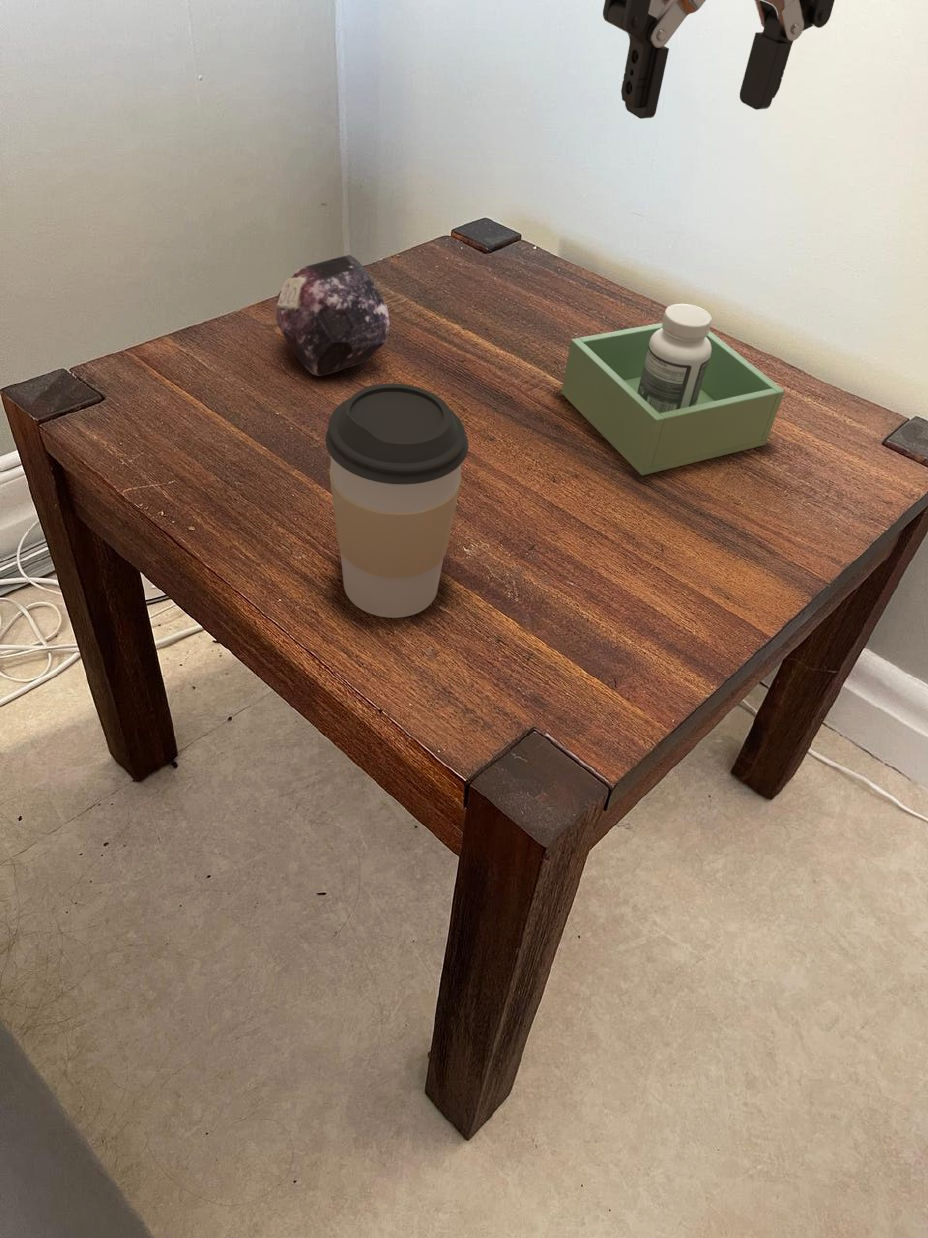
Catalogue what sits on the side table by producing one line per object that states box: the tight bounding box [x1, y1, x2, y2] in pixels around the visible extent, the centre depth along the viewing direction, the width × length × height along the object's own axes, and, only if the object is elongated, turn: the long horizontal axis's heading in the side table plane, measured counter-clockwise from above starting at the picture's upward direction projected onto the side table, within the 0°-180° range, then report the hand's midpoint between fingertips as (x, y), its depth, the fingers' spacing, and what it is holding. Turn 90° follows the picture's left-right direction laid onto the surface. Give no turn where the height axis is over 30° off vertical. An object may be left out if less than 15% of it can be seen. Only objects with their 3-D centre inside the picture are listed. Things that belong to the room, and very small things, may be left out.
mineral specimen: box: [275, 254, 390, 377], centre depth 88 cm, size 10×10×10 cm
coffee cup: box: [324, 383, 469, 619], centre depth 65 cm, size 9×9×15 cm
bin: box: [560, 322, 786, 476], centre depth 87 cm, size 14×14×6 cm
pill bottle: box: [638, 303, 713, 414], centre depth 85 cm, size 5×5×10 cm
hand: (697, 109), depth 58 cm, fingers open, 8 cm apart
